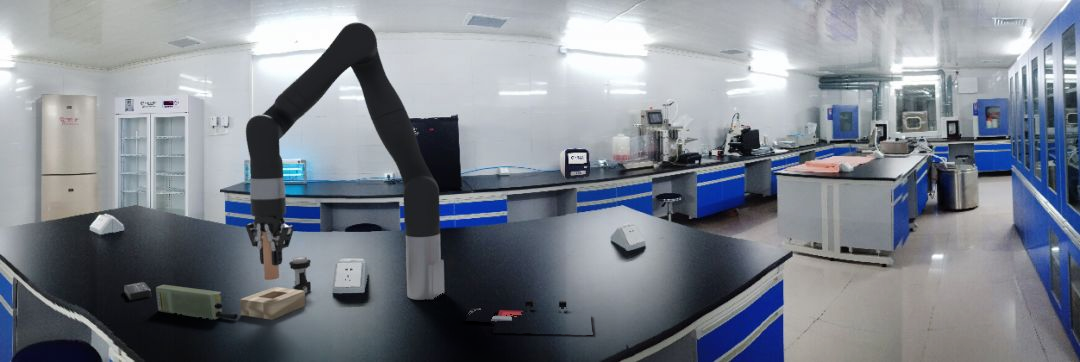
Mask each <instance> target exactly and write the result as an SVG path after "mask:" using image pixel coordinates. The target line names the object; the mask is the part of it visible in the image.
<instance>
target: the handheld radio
mask: <svg viewBox="0 0 1080 362" xmlns="http://www.w3.org/2000/svg"><path fill="white" fill-rule="evenodd" d="M155 293H156V294H155V295H156V301H157V303H156V304H157V310H158V312H162V313H167V314H174V313H177V314H176V315H180V314H182V316H189V317H195V318H199V317H202V318H201V319H206V318H209V319H208V320H213V319H214V320H217V319H220V318H223V319H230V320H237V318H238V314H237V313H232V312H223V309H222V307H223V304H222V297H221V294H222V292H221V291H217V290H216V291H215V290H210V289H209V290H208V289H199V288H193V287H192V288H191V287H185V286H176V285H169V284H161V285H159V286H156V287H155Z"/></svg>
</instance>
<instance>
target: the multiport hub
mask: <svg viewBox="0 0 1080 362" xmlns="http://www.w3.org/2000/svg"><path fill="white" fill-rule="evenodd" d="M123 287H124V293H125V295H126V297H127V298H128V299H129V301H135V300H136V301H137V300H141V299H146V298H151V297H152V290H151V288H150V287H149V286H148V285H147V284H146V282H144V281H141V282H140V281H139V282H135V283H131V284H130V283H129V284H124V285H123Z"/></svg>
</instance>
